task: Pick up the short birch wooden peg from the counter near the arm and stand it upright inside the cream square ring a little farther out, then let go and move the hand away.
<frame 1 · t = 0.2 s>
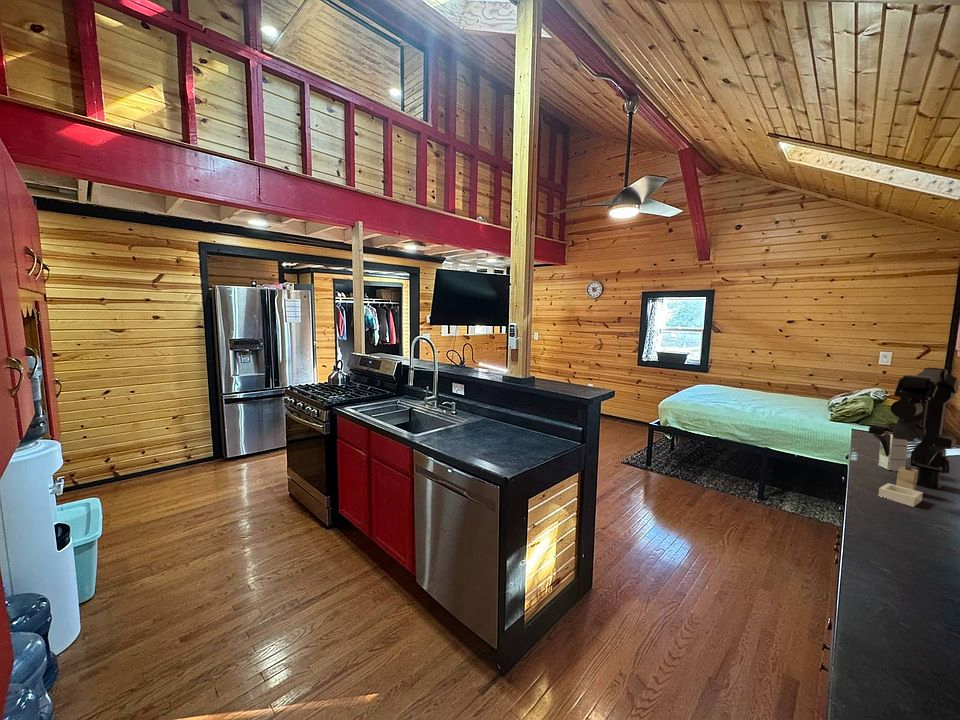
hand: (906, 460, 130), 14 cm above the countertop, tool pointing down, fingers open, 9 cm apart
cream square ring: (899, 498, 133), on the countertop
wooden peg: (905, 491, 139), on the countertop
syrup box: (890, 469, 160), on the countertop
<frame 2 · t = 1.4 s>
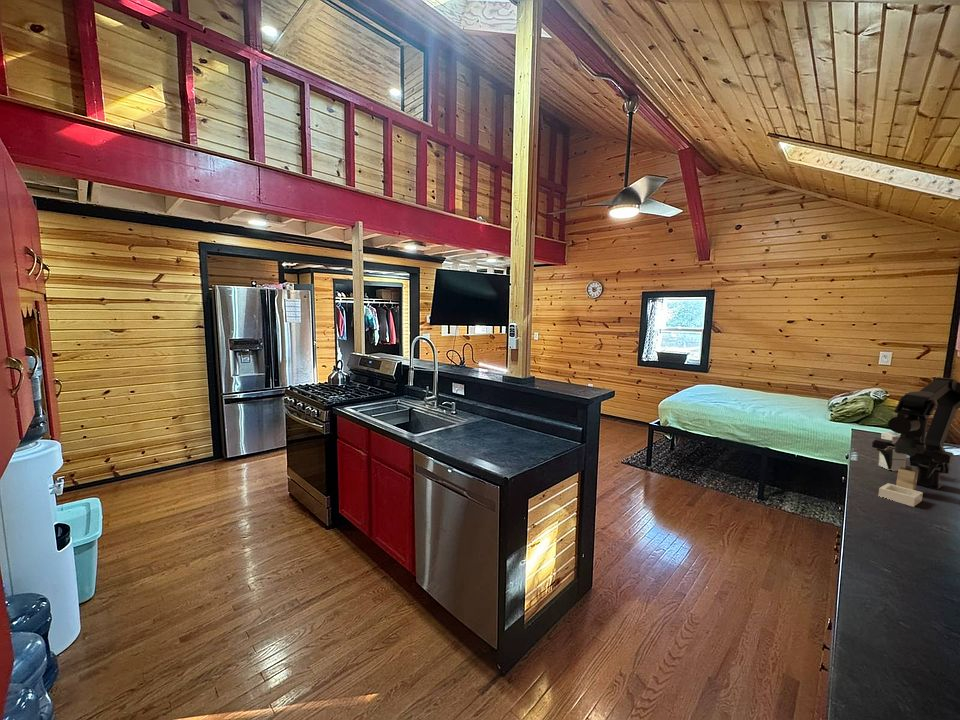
hand: (907, 473, 138), 7 cm above the countertop, tool pointing down, fingers open, 9 cm apart
nothing on the countertop moved.
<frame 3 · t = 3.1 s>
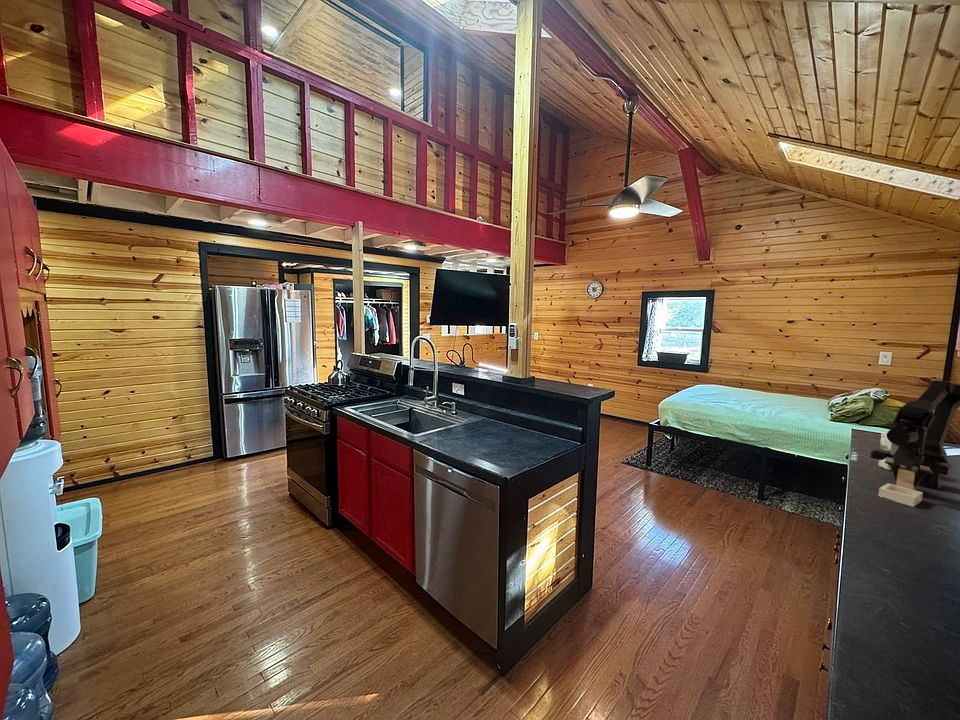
hand: (906, 484, 139), 3 cm above the countertop, tool pointing down, fingers closed on wooden peg, 4 cm apart
wooden peg: (905, 491, 139), on the countertop, touching gripper
everything else where it was.
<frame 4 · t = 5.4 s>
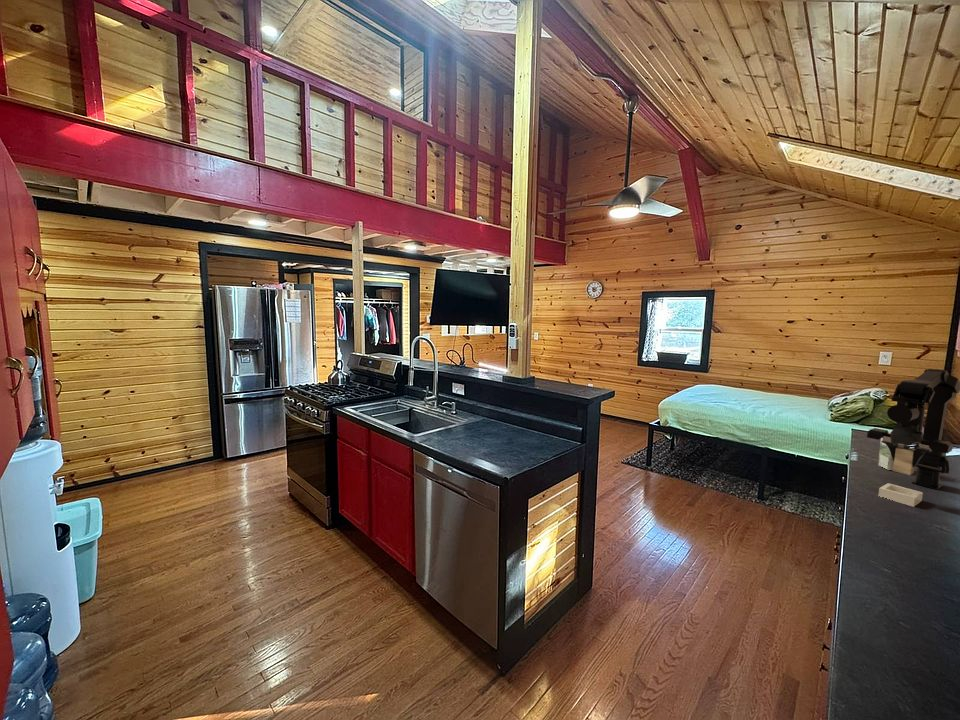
hand: (904, 464, 132), 12 cm above the countertop, tool pointing down, fingers closed on wooden peg, 4 cm apart
wooden peg: (903, 471, 132), point 9 cm above the countertop, touching gripper
everything else where it was.
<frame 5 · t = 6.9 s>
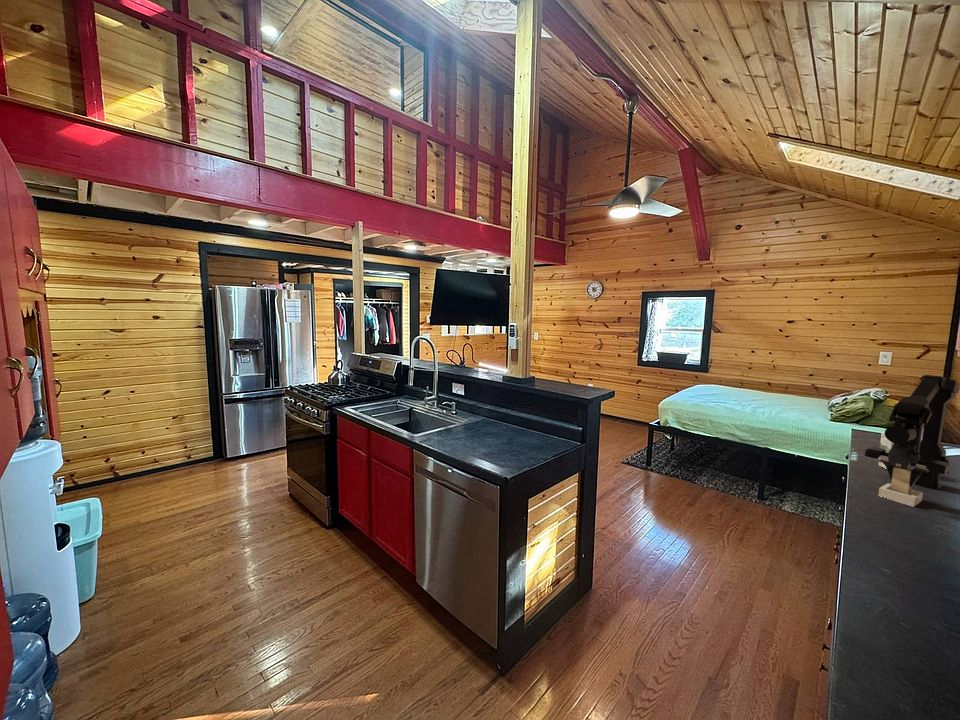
hand: (901, 484, 133), 5 cm above the countertop, tool pointing down, fingers closed on wooden peg, 4 cm apart
wooden peg: (900, 491, 133), point 3 cm above the countertop, touching gripper
everything else where it was.
when the fingers open (5 cm above the countertop, at t = 8.0 s): wooden peg drops 3 cm, resting in cream square ring.
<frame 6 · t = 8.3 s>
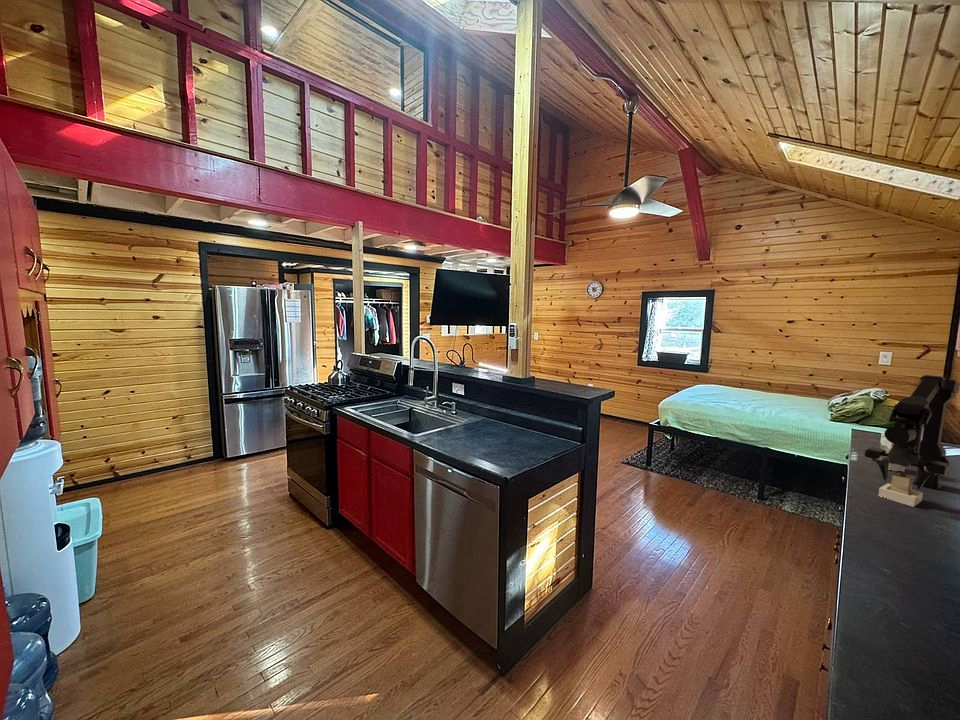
hand: (901, 484, 133), 5 cm above the countertop, tool pointing down, fingers open, 8 cm apart
wooden peg: (899, 498, 133), resting in cream square ring
everything else where it was.
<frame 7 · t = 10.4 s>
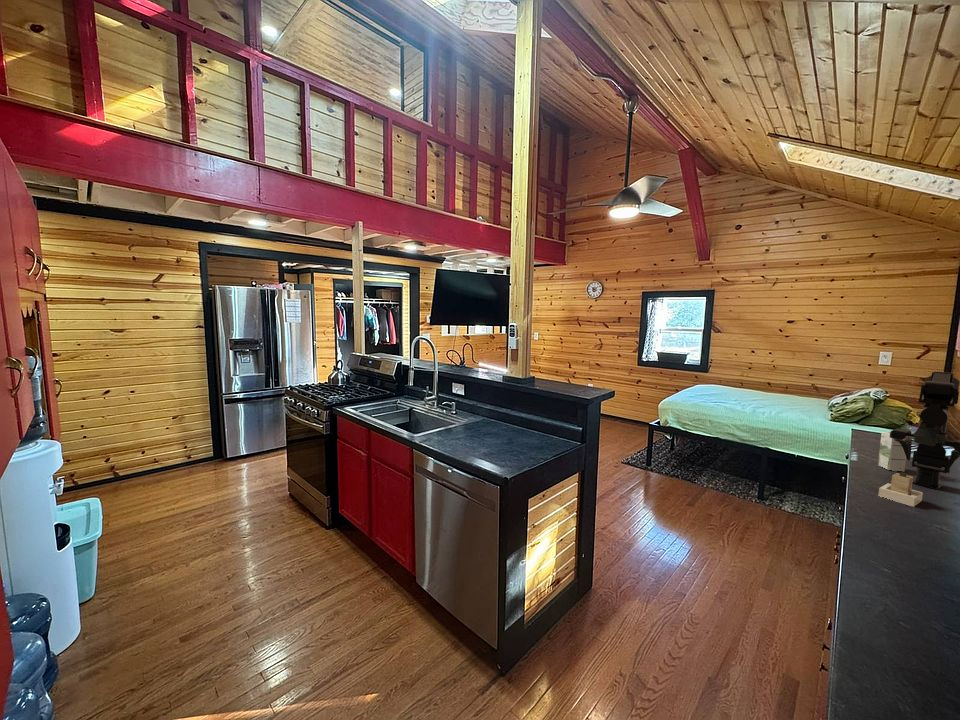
hand: (927, 464, 133), 12 cm above the countertop, tool pointing down, fingers open, 9 cm apart
nothing on the countertop moved.
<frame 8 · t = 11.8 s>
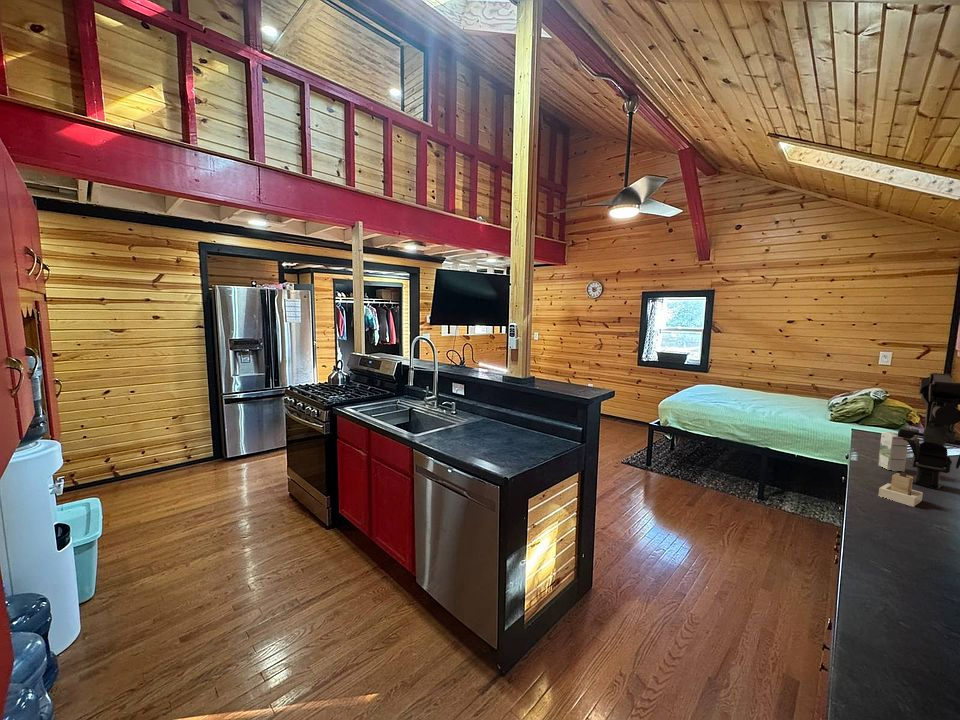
hand: (936, 463, 133), 12 cm above the countertop, tool pointing down, fingers open, 9 cm apart
nothing on the countertop moved.
at the end: wooden peg 0.0 cm off-centre on the cream square ring, point 0.0 cm above the cream square ring's base; wooden peg tilted 0°; the gripper is holding nothing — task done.
